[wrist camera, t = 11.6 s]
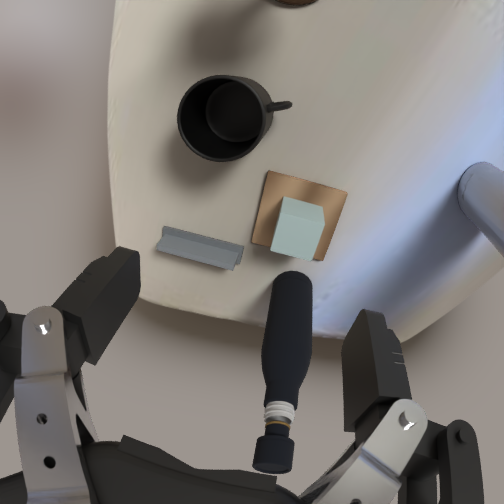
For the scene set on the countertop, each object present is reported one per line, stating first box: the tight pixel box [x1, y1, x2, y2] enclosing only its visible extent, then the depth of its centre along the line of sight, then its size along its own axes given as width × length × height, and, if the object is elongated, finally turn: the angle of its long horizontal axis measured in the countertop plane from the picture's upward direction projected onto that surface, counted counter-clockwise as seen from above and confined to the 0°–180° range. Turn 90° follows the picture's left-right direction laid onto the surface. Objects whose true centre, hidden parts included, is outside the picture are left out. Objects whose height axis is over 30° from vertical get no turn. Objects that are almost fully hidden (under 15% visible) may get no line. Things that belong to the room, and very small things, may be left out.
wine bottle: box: [252, 271, 312, 474], centre depth 37 cm, size 6×6×30 cm
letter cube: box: [270, 196, 325, 261], centre depth 40 cm, size 6×6×6 cm
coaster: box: [252, 171, 348, 261], centre depth 43 cm, size 11×11×1 cm
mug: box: [177, 75, 292, 162], centre depth 32 cm, size 9×12×9 cm
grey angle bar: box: [157, 226, 244, 271], centre depth 46 cm, size 13×3×4 cm, turn 78°
